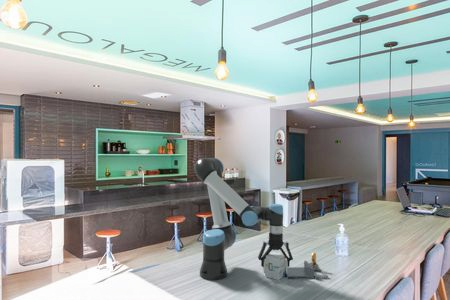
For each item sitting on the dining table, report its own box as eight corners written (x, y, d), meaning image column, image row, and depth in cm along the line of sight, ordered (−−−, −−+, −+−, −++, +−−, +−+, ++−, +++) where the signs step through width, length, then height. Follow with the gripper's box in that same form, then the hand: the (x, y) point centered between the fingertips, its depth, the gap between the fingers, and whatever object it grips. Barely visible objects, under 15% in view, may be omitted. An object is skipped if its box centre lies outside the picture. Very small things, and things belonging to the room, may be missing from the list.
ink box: (272, 271, 174) (272, 250, 174) (285, 275, 169) (286, 254, 169) (264, 276, 167) (264, 254, 167) (278, 280, 162) (278, 258, 162)
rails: (315, 278, 164) (315, 275, 164) (305, 267, 180) (306, 265, 180) (328, 278, 165) (328, 275, 165) (318, 267, 181) (318, 265, 181)
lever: (311, 270, 175) (311, 254, 175) (309, 267, 179) (309, 252, 179) (318, 270, 176) (318, 254, 176) (315, 267, 180) (316, 252, 180)
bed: (287, 278, 164) (287, 269, 164) (281, 269, 177) (281, 260, 177) (313, 278, 165) (313, 269, 165) (306, 269, 178) (306, 260, 178)
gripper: (255, 234, 164) (254, 275, 164) (299, 234, 165) (298, 275, 165) (253, 230, 172) (252, 269, 171) (295, 231, 173) (294, 269, 173)
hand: (275, 272), depth 168 cm, fingers closed on ink box, 12 cm apart
